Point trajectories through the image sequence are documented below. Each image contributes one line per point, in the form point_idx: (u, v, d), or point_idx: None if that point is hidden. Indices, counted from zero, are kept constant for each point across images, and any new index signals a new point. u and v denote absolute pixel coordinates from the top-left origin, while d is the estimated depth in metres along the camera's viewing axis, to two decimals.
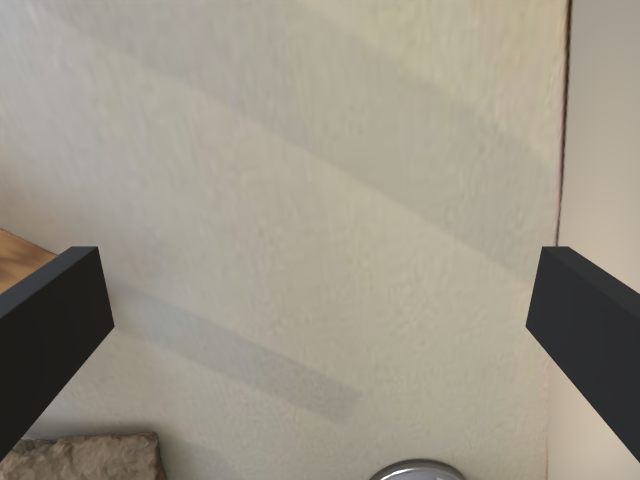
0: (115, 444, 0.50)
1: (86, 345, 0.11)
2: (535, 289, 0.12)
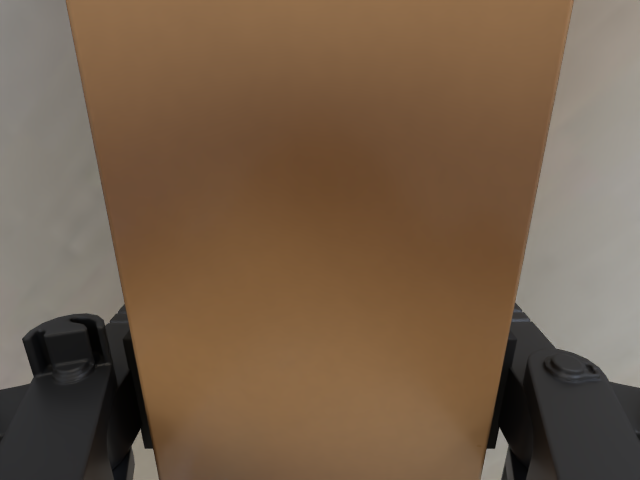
0: None
1: None
2: None
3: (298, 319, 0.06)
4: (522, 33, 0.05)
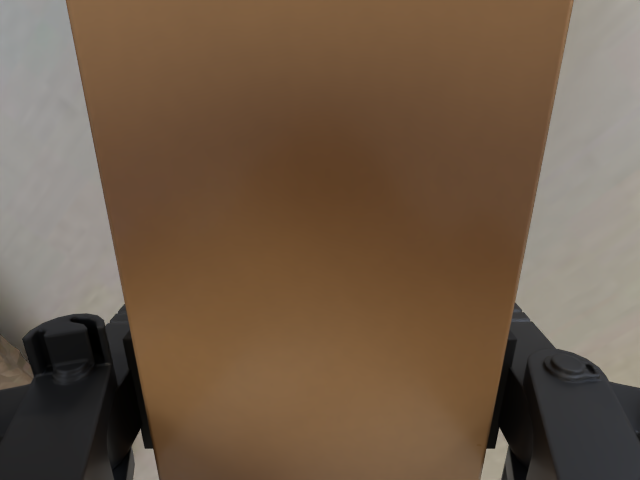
0: None
1: None
2: None
3: (298, 319, 0.06)
4: (522, 32, 0.05)
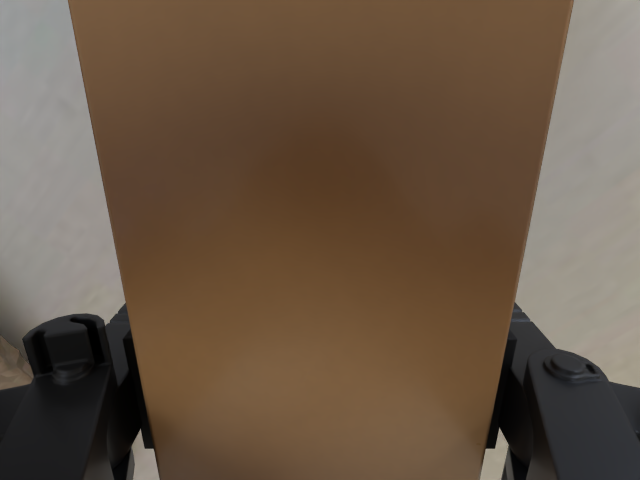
0: None
1: None
2: None
3: (298, 317, 0.06)
4: (522, 31, 0.05)
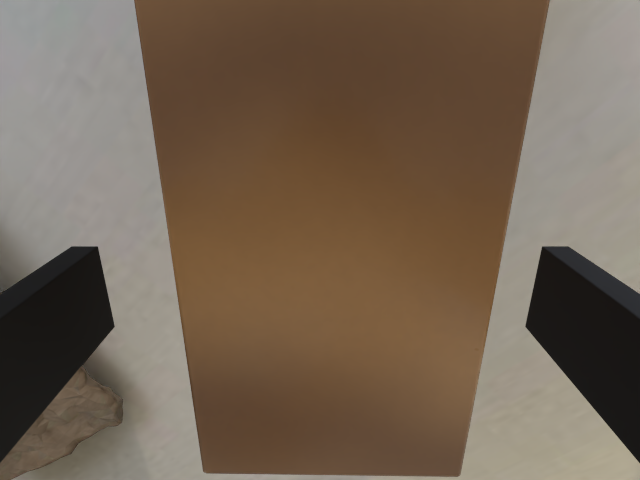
0: (74, 382, 0.27)
1: (86, 344, 0.11)
2: (535, 288, 0.12)
3: (317, 225, 0.07)
4: None
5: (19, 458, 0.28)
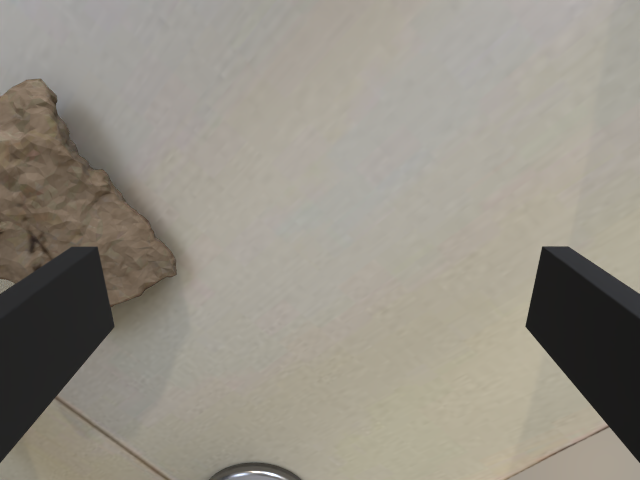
0: (146, 237, 0.39)
1: (86, 345, 0.11)
2: (535, 288, 0.12)
3: None
4: None
5: None
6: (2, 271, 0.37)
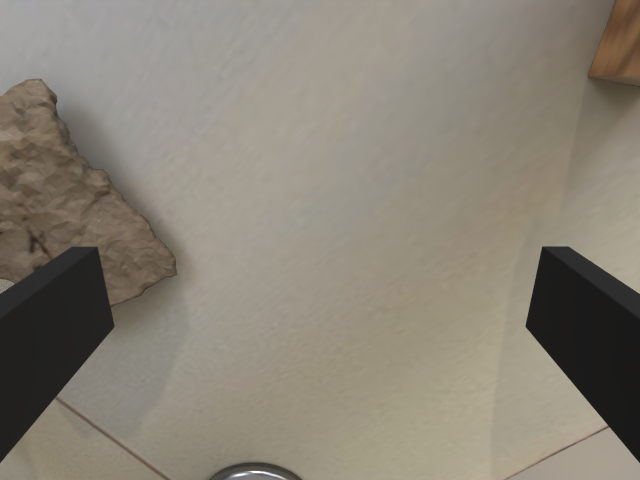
0: (146, 237, 0.39)
1: (86, 345, 0.11)
2: (535, 288, 0.12)
3: None
4: None
5: None
6: (2, 271, 0.37)
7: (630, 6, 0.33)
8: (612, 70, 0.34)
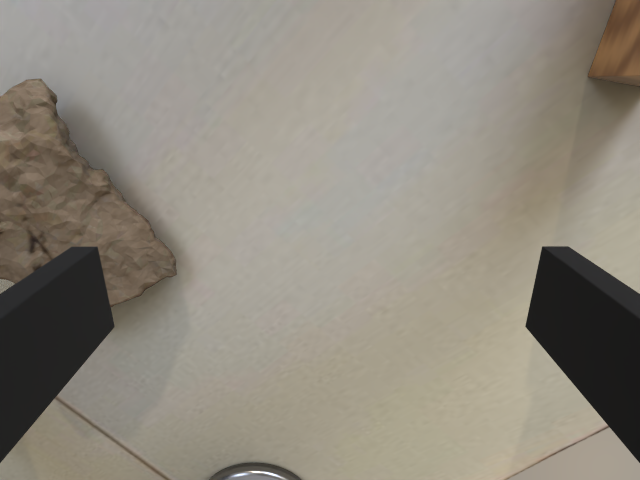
0: (146, 237, 0.39)
1: (86, 345, 0.11)
2: (535, 288, 0.12)
3: None
4: None
5: None
6: (2, 271, 0.37)
7: (630, 6, 0.33)
8: (612, 70, 0.34)
